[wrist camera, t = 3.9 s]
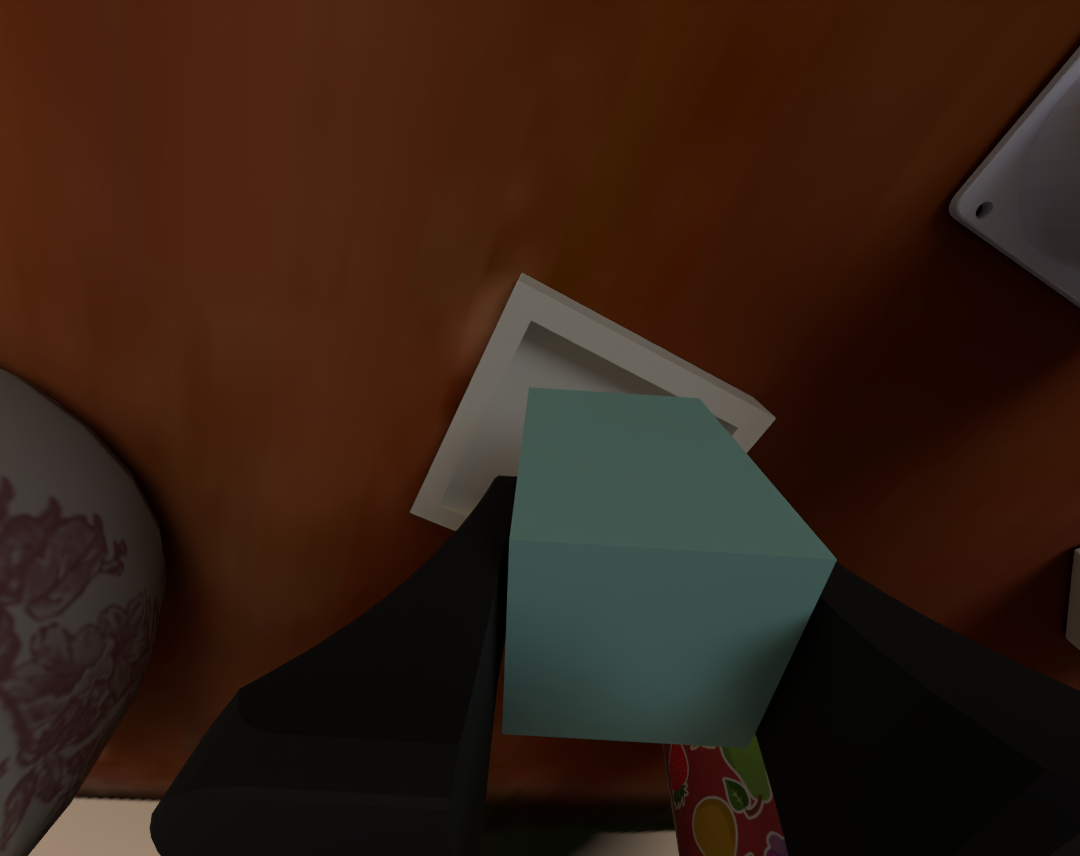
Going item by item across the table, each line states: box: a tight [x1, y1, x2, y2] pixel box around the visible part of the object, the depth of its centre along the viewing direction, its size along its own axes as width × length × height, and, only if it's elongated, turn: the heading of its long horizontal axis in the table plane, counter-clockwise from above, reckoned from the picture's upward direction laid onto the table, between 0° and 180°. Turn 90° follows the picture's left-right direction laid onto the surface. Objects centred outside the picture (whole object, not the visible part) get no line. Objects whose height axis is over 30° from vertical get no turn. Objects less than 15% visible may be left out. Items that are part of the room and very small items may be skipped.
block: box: [502, 387, 837, 748], centre depth 10 cm, size 4×4×6 cm
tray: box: [410, 273, 776, 531], centre depth 19 cm, size 11×11×2 cm
